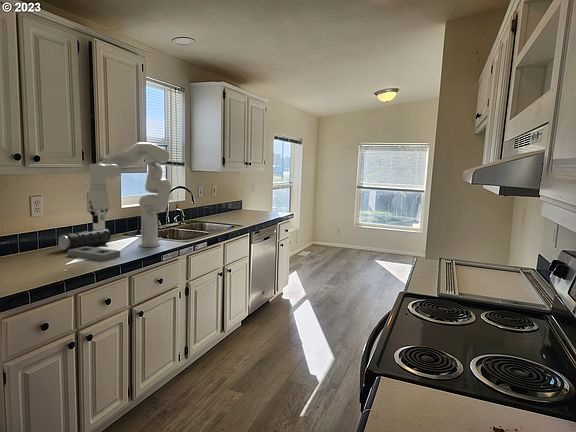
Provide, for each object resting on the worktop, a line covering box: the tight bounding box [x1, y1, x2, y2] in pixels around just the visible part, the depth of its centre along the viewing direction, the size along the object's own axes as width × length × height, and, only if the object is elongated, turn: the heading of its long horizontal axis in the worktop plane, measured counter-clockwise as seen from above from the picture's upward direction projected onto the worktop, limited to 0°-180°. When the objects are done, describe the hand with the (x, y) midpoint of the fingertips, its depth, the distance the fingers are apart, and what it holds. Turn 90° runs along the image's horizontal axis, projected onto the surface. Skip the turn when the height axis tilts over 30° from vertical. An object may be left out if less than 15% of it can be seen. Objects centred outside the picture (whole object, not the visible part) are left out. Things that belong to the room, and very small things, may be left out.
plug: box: [92, 211, 106, 230], centre depth 203 cm, size 4×5×9 cm
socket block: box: [66, 246, 121, 262], centre depth 206 cm, size 12×24×4 cm, turn 70°
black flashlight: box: [57, 228, 112, 251], centre depth 226 cm, size 10×28×10 cm, turn 154°
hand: (98, 222), depth 203 cm, fingers closed on plug, 4 cm apart
